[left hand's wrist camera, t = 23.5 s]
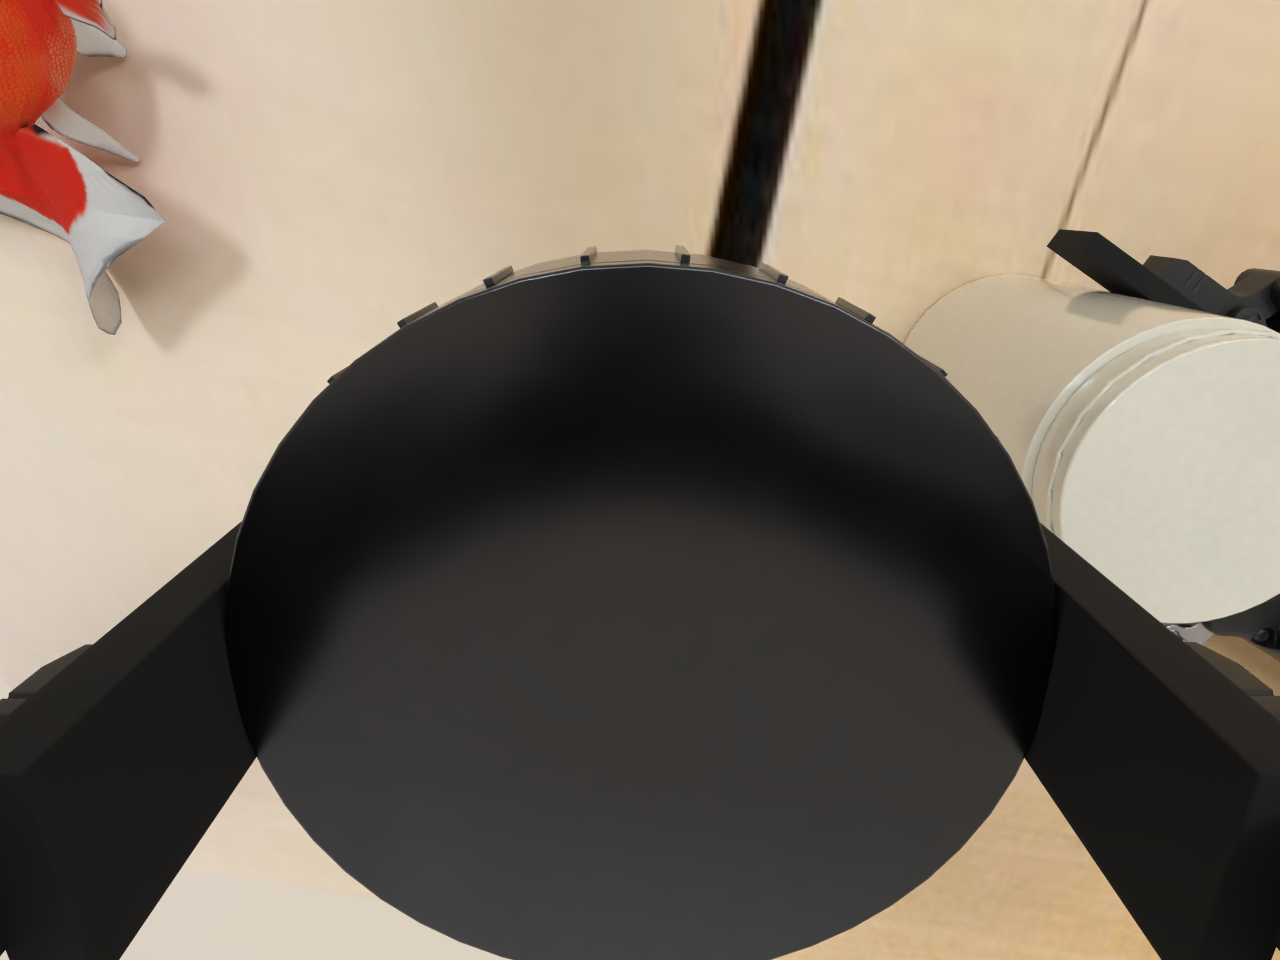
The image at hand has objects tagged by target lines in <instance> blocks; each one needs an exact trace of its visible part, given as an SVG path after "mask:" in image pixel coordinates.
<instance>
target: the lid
mask: <svg viewBox="0 0 1280 960" xmlns="http://www.w3.org/2000/svg"><path fill="white" fill-rule="evenodd" d="M483 282H484V284H482V285H480V286H478V287H476V288H474V289H472V290H470V291H468V292H466V293H464V294H462V295H460V296H458V297H456V298H454V299H452V300H450V301H448V302H446V303H444V304H442V305H441V306H439V307H438V305H437V304H436V302H434V303H432V304H430V305H428V306H426V307H424V308H422V309H421V310H419V311H417V312H415V313H413V314H411V315H409V316H408V317H406V318H404V319H402V320H401V321H399V322H398V323H397V324H398V325H399V327H400V328H401V329H399V330H398V331H396V332H395V333H394V334H392V335H391V336H389V337H388V338H386V339H385V340H384V341H382V342H381V343H379V344H378V345H376V346H375V347H374V348H372V349H371V350H369V351H368V352H366V353H365V354H364V355H362V356H361V357H359V358H358V359H356V360H355V361H354V362H353V363H352V364H351V365H350V366H348V367H346V368H345V369H343V370H341V371H340V372H338V373H336V374H335V375H333V376H332V377H331V378H330V379H329V380H328V381H327V382H328V383H329V384H330V385H328V386H327V387H326V388H325V389H324V390H323V391H322V392H321V393H320V394H319V395H318V396H317V397H316V398H315V399H314V400H313V401H312V402H311V403H310V405H309V406H308V407H307V408H306V410H305V411H304V412H303V414H302V415H301V416H300V418H299V419H298V420H297V421H296V423H295V424H294V425H293V427H292V428H291V429H290V430H289V432H288V433H287V434H286V436H285V437H284V438H283V439H282V441H281V442H280V443H279V445H278V447H277V448H276V450H275V452H274V454H273V456H272V458H271V459H270V461H269V463H268V465H267V467H266V468H265V470H264V472H263V474H262V476H261V477H260V479H259V481H258V483H257V485H256V487H255V488H254V490H253V493H252V496H251V498H250V501H249V504H248V507H247V509H246V512H245V515H244V518H243V521H242V523H241V526H240V529H239V532H238V534H237V537H236V542H235V547H234V552H233V558H232V563H231V568H230V573H229V579H228V584H227V599H226V632H225V636H226V644H227V652H228V660H229V667H230V672H231V677H232V682H233V687H234V691H235V695H236V699H237V704H238V708H239V712H240V715H241V719H242V722H243V726H244V728H245V730H246V733H247V735H248V737H249V740H250V742H251V744H252V746H253V749H254V751H255V753H256V755H257V758H258V760H259V762H260V764H261V767H262V769H263V770H264V772H265V773H266V775H267V777H268V778H269V780H270V782H271V783H272V785H273V787H274V788H275V790H276V791H277V793H278V795H279V796H280V798H281V800H282V801H283V803H284V804H285V806H286V807H287V808H288V810H289V811H290V812H291V813H292V815H293V816H294V817H295V818H296V820H297V821H298V822H299V823H300V825H301V826H302V827H303V828H304V830H305V831H306V832H307V833H308V835H309V836H310V837H311V838H312V840H313V841H314V842H315V843H316V844H317V845H318V846H319V847H320V848H321V849H322V850H323V851H325V852H326V853H327V854H328V855H329V856H330V857H331V858H332V859H333V860H334V861H335V862H336V863H337V864H338V865H339V866H340V867H341V868H342V869H343V870H344V871H345V872H346V873H348V874H349V875H350V876H351V877H353V878H354V879H355V880H357V881H358V882H359V883H360V884H362V885H363V886H364V887H366V888H367V889H368V890H370V891H371V892H372V893H373V894H375V895H376V896H377V897H379V898H380V899H381V900H383V901H385V902H386V903H388V904H389V905H391V906H393V907H394V908H396V909H398V910H399V911H401V912H403V913H404V914H406V915H408V916H409V917H411V918H412V919H414V920H416V921H417V922H419V923H421V924H423V925H425V926H427V927H429V928H431V929H434V930H436V931H438V932H440V933H442V934H444V935H446V936H448V937H450V938H452V939H455V940H457V941H459V942H461V943H464V944H467V945H470V946H472V947H475V948H478V949H481V950H484V951H487V952H489V953H492V954H495V955H498V956H500V957H504V958H508V959H512V960H772V959H775V958H778V957H781V956H784V955H787V954H790V953H793V952H796V951H799V950H802V949H805V948H808V947H811V946H813V945H816V944H818V943H820V942H822V941H824V940H827V939H829V938H831V937H833V936H836V935H838V934H840V933H842V932H845V931H847V930H849V929H851V928H854V927H855V926H857V925H859V924H860V923H862V922H864V921H866V920H867V919H869V918H871V917H873V916H874V915H876V914H878V913H880V912H881V911H883V910H885V909H886V908H888V907H890V906H892V905H893V904H894V903H896V902H897V901H899V900H900V899H901V898H903V897H904V896H905V895H907V894H908V893H910V892H911V891H912V890H914V889H915V888H916V887H918V886H919V885H920V884H922V883H923V882H925V881H926V880H927V879H929V878H930V877H931V876H932V875H933V874H934V873H935V872H936V871H937V870H938V869H939V868H941V867H942V866H943V865H944V864H945V863H946V862H947V861H948V860H949V859H950V858H951V857H952V856H954V855H955V854H956V853H957V852H958V851H959V850H960V849H961V848H962V847H963V846H964V845H965V843H966V842H967V841H968V840H969V839H970V838H971V836H972V835H973V834H974V833H975V832H976V831H977V829H978V828H979V827H980V826H981V825H982V824H983V822H984V821H985V820H986V819H987V818H988V816H989V815H990V814H991V813H992V811H993V810H994V808H995V806H996V805H997V803H998V802H999V800H1000V799H1001V797H1002V796H1003V794H1004V793H1005V791H1006V790H1007V788H1008V787H1009V785H1010V784H1011V782H1012V781H1013V779H1014V777H1015V776H1016V774H1017V772H1018V769H1019V767H1020V765H1021V763H1022V761H1023V759H1024V757H1025V755H1026V753H1027V751H1028V749H1029V746H1030V744H1031V742H1032V740H1033V738H1034V736H1035V733H1036V730H1037V727H1038V723H1039V720H1040V717H1041V713H1042V709H1043V705H1044V701H1045V697H1046V692H1047V688H1048V683H1049V678H1050V673H1051V668H1052V663H1053V658H1054V653H1055V647H1056V596H1055V589H1054V583H1053V576H1052V570H1051V563H1050V557H1049V550H1048V547H1047V543H1046V540H1045V537H1044V534H1043V531H1042V528H1041V525H1040V522H1039V518H1038V515H1037V512H1036V509H1035V506H1034V503H1033V500H1032V498H1031V496H1030V494H1029V492H1028V490H1027V488H1026V486H1025V484H1024V482H1023V480H1022V479H1021V477H1020V475H1019V473H1018V471H1017V469H1016V467H1015V465H1014V463H1013V461H1012V459H1011V457H1010V455H1009V453H1008V452H1007V451H1006V449H1005V448H1004V446H1003V445H1002V444H1001V442H1000V440H999V438H998V437H997V436H996V435H995V434H994V432H993V431H992V430H991V428H990V427H989V426H988V424H987V423H986V421H985V420H984V419H983V417H982V416H981V414H980V413H979V412H978V410H977V409H976V408H975V407H974V406H973V405H972V404H971V403H970V402H969V401H968V400H967V399H966V398H965V397H964V396H963V395H962V394H961V393H960V392H959V391H958V390H957V389H956V388H955V387H954V386H953V385H952V384H951V383H950V382H949V381H948V380H947V379H946V378H945V377H946V376H947V375H948V374H947V373H946V372H945V371H944V370H943V369H942V368H940V367H938V366H937V365H935V364H933V363H931V362H930V361H928V360H926V359H925V358H923V357H921V356H920V355H918V354H916V353H915V352H913V351H912V350H911V349H909V348H908V347H907V346H905V345H904V344H903V343H901V342H900V341H899V340H897V339H896V338H895V337H893V336H892V335H891V334H889V333H888V332H886V331H884V330H882V329H880V328H879V327H877V326H875V325H873V324H872V323H873V321H874V320H875V318H876V317H875V316H873V315H871V314H870V313H868V312H866V311H864V310H862V309H860V308H858V307H857V306H855V305H853V304H851V303H849V302H847V301H845V300H843V299H842V298H840V297H839V298H838V299H837V301H836V302H835V303H834V302H833V301H831V300H829V299H827V298H825V297H823V296H822V295H820V294H818V293H816V292H814V291H812V290H811V289H809V288H807V287H805V286H803V285H801V284H799V283H796V282H793V281H791V280H788V276H787V275H785V274H783V273H782V272H780V271H778V270H776V269H775V268H773V267H771V266H769V265H767V264H764V263H761V265H760V268H756V267H753V266H749V265H745V264H740V263H736V262H732V261H727V260H723V259H718V258H714V257H709V256H705V255H700V254H689V253H688V251H687V250H686V249H685V247H684V246H676V249H675V252H664V251H652V250H638V251H619V252H600V253H597V249H596V247H589V248H587V250H586V251H585V252H584V253H583V254H582V255H579V256H574V257H569V258H564V259H559V260H553V261H548V262H543V263H539V264H536V265H533V266H530V267H527V268H524V269H521V270H518V271H515V272H513V269H512V266H508V267H506V268H503V269H502V270H500V271H498V272H496V273H494V274H493V275H491V276H489V277H487V278H485V279H484V280H483Z"/></svg>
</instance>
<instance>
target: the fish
mask: <svg viewBox="0 0 1280 960" xmlns="http://www.w3.org/2000/svg"><path fill="white" fill-rule="evenodd" d="M77 51H78V52H79V53H81V54H82V55H85V56H111V57H119V58H124V57H125V56H126V50H125V48H124V47H123V45H122V44H121V43H120V42H119V41H118V40H117V39H116V33H115V27H114V25H113V23H112V22H111V20H110V18H109V17H108V15H107V13H106V11H105V9H104V7H103V2H102V0H0V214H3V215H6V216H9V217H11V218H14V219H16V220H19V221H21V222H24V223H26V224H29V225H31V226H34V227H36V228H39V229H41V230H44V231H47V232H49V233H52V234H54V235H56V236H58V237H60V238H62V239H63V240H65V241H67V242H69V243H70V245H71V247H72V249H73V252H74V254H75V257H76V259H77V262H78V265H79V268H80V271H81V274H82V277H83V280H84V284H85V290H86V296H87V299H88V302H89V305H90V308H91V311H92V315H93V317H94V319H95V322H96V324H97V326H98V328H99V329H101V330H102V331H104V332H106V333H108V334H113V335H115V333H116V332H117V330H118V328H119V326H120V324H121V322H122V321H121V307H120V300H119V294H118V291H117V290H116V288H115V286H114V285H113V283H112V281H111V280H110V278H109V276H108V275H107V273H106V272H105V270H106V269H107V268H108V267H109V266H110V265H111V264H112V262H113V261H114V260H115V259H116V258H117V257H118V256H120V255H121V254H122V253H124V252H125V251H127V250H128V249H129V248H131V247H132V246H134V245H135V244H137V243H138V242H139V241H141V240H142V239H143V238H145V237H146V236H147V235H149V234H150V233H151V232H152V231H154V230H155V229H156V228H158V227H159V226H160V225H161V224H163V223H164V222H165V220H164V219H163V218H162V217H161V215H160V214H159V213H158V212H157V211H156V210H155V208H154V207H153V206H152V205H151V204H150V203H149V202H148V200H147V199H146V198H145V197H144V196H142V195H141V194H139V193H138V192H136V191H135V190H133V189H131V188H130V187H128V186H127V185H125V184H124V183H122V182H121V181H119V180H118V179H116V178H115V177H113V176H112V175H110V174H109V173H107V172H106V171H104V170H103V169H102V168H100V167H99V166H98V165H96V164H95V163H93V162H92V161H91V160H89V159H88V158H87V157H85V156H84V155H82V154H81V153H79V152H78V151H76V150H75V149H73V148H72V147H70V146H69V145H67V144H65V143H64V142H62V141H61V140H59V139H58V138H56V137H54V136H53V135H51V134H50V133H48V132H46V131H45V130H43V129H42V128H40V127H39V126H37V125H35V122H36V120H37V119H38V118H39V117H40V116H41V117H42V118H43V120H44V121H45V122H46V123H47V124H48V126H49V127H50V128H51V129H53V130H54V131H56V132H57V133H59V134H60V135H62V136H64V137H67V138H69V139H72V140H74V141H77V142H80V143H83V144H87V145H90V146H93V147H96V148H99V149H102V150H105V151H108V152H110V153H113V154H116V155H118V156H121V157H123V158H126V159H129V160H131V161H134V162H138V161H139V159H138V158H137V157H136V156H135V155H133V154H132V153H131V152H130V151H128V150H127V149H126V148H124V147H123V146H122V145H121V144H120V143H118V142H117V141H116V140H115V139H113V138H112V137H111V136H110V135H108V134H107V133H106V132H104V131H103V130H101V129H100V128H98V127H97V126H95V125H94V124H92V123H91V122H89V121H87V120H86V119H84V118H83V117H81V116H80V115H78V114H77V113H75V112H74V111H72V110H71V109H70V108H69V107H68V106H67V105H66V104H64V102H63V101H62V100H61V99H60V96H61V95H62V93H63V92H64V91H65V89H66V88H67V86H68V84H69V82H70V80H71V77H72V74H73V71H74V67H75V63H76V57H77Z"/></svg>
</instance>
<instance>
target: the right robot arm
mask: <svg viewBox="0 0 1280 960" xmlns="http://www.w3.org/2000/svg"><path fill="white" fill-rule="evenodd" d="M1047 247H1048V248H1050V249H1051V250H1053V251H1054V252H1055V253H1057V254H1058V255H1060V256H1061V257H1062V258H1064V259H1065V260H1066V261H1068V262H1069V263H1071V264H1072V265H1073V266H1075V267H1076V268H1078V269H1079V270H1080V271H1082V272H1083V273H1085V274H1086V275H1087V276H1089V277H1090V278H1092V279H1093V280H1094V281H1096V282H1097V283H1099V284H1100V285H1101V286H1103V287H1104V288H1106V289H1107V290H1108V291H1110V292H1112V293H1116V294H1121V295H1126V296H1131V297H1136V298H1141V299H1145V300H1150V301H1155V302H1160V303H1165V304H1170V305H1174V306H1179V307H1184V308H1189V309H1194V310H1199V311H1203V312H1208V313H1213V314H1218V315H1223V316H1228V317H1232V318H1237V319H1242V320H1246V321H1250V322H1253V323H1256V324H1260V325H1263V326H1265V327H1267V328H1270V329H1272V330H1274V331H1276V332H1278V333H1280V271H1272V270H1264V269H1255V268H1253V269H1248V270H1246V271H1244V272H1242V273H1241V274H1240V275H1239V276H1238V277H1237V279H1236V281H1235V283H1234V286H1232V287H1231V288H1229V289H1227V290H1226V289H1225V288H1224V287H1222V286H1221V285H1220V284H1218V283H1217V282H1216V281H1214V280H1213V279H1212V278H1210V277H1209V276H1207V275H1205V273H1203V272H1202V271H1201V270H1199V269H1198V268H1197V267H1195V266H1194V265H1193V264H1191V263H1190V262H1189V261H1187V260H1181V259H1176V258H1168V257H1160V256H1151V255H1150V257H1149V258H1148V259H1147V260H1146V262H1145V263H1144V264H1143V265H1142V264H1140V263H1139V262H1137V261H1136V260H1135V259H1133V258H1132V257H1131V256H1129V255H1128V254H1126V253H1125V252H1124V251H1122V250H1121V249H1120V248H1118V247H1117V246H1116V245H1114V244H1113V243H1111V242H1110V241H1109V240H1107V239H1106V238H1105V237H1103V236H1102V235H1100V234H1099V233H1098V232H1086V231H1074V230H1061V229H1059V231H1058V232H1057V233H1056V235H1055V236H1054V237H1053V239H1052V240H1051V241H1050V243H1049V244H1048V245H1047ZM1162 624H1163V625H1164V626H1166V627H1167V628H1168V629H1169V630H1170V631H1172V632H1173V633H1174V634H1175V635H1177V636H1178V637H1179V638H1180V639H1181V640H1183V641H1184V642H1197V643H1199V644H1201V645H1203V644H1204V643H1205V642H1206V641H1207V640H1208V639H1209V638H1211V637H1212V636H1213V635H1214V634H1217V635H1220V636H1235V637H1240V638H1243V639H1245V640H1246V641H1248V642H1250V643H1251V644H1253V645H1254V646H1256V647H1258V648H1259V649H1261V650H1262V651H1264V652H1265V653H1267V654H1269V655H1270V656H1272V657H1273V658H1275V659H1277V660H1278V661H1280V594H1278V595H1276V596H1274V597H1273V598H1271V599H1269V600H1267V601H1265V602H1264V603H1261V604H1259V605H1257V606H1255V607H1252V608H1250V609H1248V610H1245V611H1243V612H1240V613H1236V614H1233V615H1230V616H1227V617H1224V618H1219V619H1214V620H1210V621H1205V622H1195V623H1162Z"/></svg>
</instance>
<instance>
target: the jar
mask: <svg viewBox="0 0 1280 960" xmlns="http://www.w3.org/2000/svg"><path fill="white" fill-rule="evenodd" d="M904 345H905V346H907V347H908V348H909V349H911V350H912V351H913V352H915V353H916V354H918V355H920V356H921V357H923V358H925V359H926V360H928V361H930V362H931V363H933V364H935V365H937V366H938V367H940V368H942V369H943V370H944V371H945V372H946V373H947V374H948V375H947V376H946V377H945V378H946V379H947V380H948V381H949V382H950V383H951V384H952V385H953V386H954V387H955V388H956V389H957V390H958V391H959V392H960V393H961V394H962V395H963V396H964V397H965V398H966V399H967V400H968V401H969V402H970V403H971V404H972V405H973V406H974V407H975V408H976V409H977V410H978V412H979V413H980V414H981V416H982V417H983V419H984V420H985V421H986V423H987V424H988V426H989V427H990V428H991V430H992V431H993V432H994V434H995V435H996V436H997V437H998V438H999V440H1000V442H1001V444H1002V445H1003V446H1004V448H1005V449H1006V451H1007V452H1008V453H1009V455H1010V457H1011V459H1012V461H1013V463H1014V465H1015V467H1016V469H1017V471H1018V473H1019V475H1020V477H1021V479H1022V480H1023V482H1024V484H1025V486H1026V488H1027V490H1028V492H1029V494H1030V496H1031V498H1032V500H1033V503H1034V506H1035V509H1036V512H1037V515H1038V518H1039V522H1040V523H1041V524H1043V525H1044V526H1045V527H1046V528H1047V529H1049V530H1050V531H1051V532H1052V533H1053V534H1055V535H1056V536H1057V537H1058V538H1059V539H1061V540H1062V541H1063V542H1064V543H1065V544H1067V545H1068V546H1069V547H1070V548H1072V549H1073V550H1074V551H1075V552H1076V553H1078V554H1079V555H1080V556H1081V557H1082V558H1084V559H1085V560H1086V561H1087V562H1088V563H1090V564H1091V565H1092V566H1093V567H1094V568H1096V569H1097V570H1098V571H1099V572H1100V573H1102V574H1103V575H1104V576H1105V577H1107V578H1108V579H1109V580H1110V581H1111V582H1113V583H1114V584H1115V585H1116V586H1117V587H1119V588H1120V589H1121V590H1122V591H1123V592H1125V593H1126V594H1127V595H1128V596H1129V597H1131V598H1132V599H1133V600H1134V601H1135V602H1137V603H1138V604H1139V605H1140V606H1142V607H1143V608H1144V609H1145V610H1146V611H1148V612H1149V613H1150V614H1151V615H1152V616H1154V617H1155V618H1156V619H1157V620H1158V621H1160V622H1161V623H1195V622H1205V621H1210V620H1214V619H1219V618H1224V617H1227V616H1230V615H1233V614H1236V613H1240V612H1243V611H1245V610H1248V609H1250V608H1252V607H1255V606H1257V605H1259V604H1261V603H1264V602H1265V601H1267V600H1269V599H1271V598H1273V597H1274V596H1276V595H1278V594H1280V333H1278V332H1276V331H1274V330H1272V329H1270V328H1267V327H1265V326H1263V325H1260V324H1256V323H1253V322H1250V321H1246V320H1242V319H1237V318H1232V317H1228V316H1223V315H1218V314H1213V313H1208V312H1203V311H1199V310H1194V309H1189V308H1184V307H1179V306H1174V305H1170V304H1165V303H1160V302H1155V301H1150V300H1145V299H1141V298H1136V297H1131V296H1126V295H1121V294H1116V293H1112V292H1107V291H1102V290H1097V289H1092V288H1087V287H1083V286H1078V285H1073V284H1068V283H1063V282H1058V281H1054V280H1049V279H1044V278H1039V277H1034V276H1028V275H1021V274H1001V275H993V276H988V277H984V278H981V279H977V280H974V281H972V282H969V283H967V284H964V285H962V286H960V287H959V288H957V289H955V290H953V291H951V292H950V293H948V294H947V295H945V296H944V297H942V298H941V299H940V300H938V301H937V302H936V303H935V304H934V305H933V306H932V307H930V308H929V309H928V310H927V311H926V312H925V314H924V315H923V316H922V317H921V318H920V319H919V320H918V322H917V323H916V325H915V326H914V327H913V329H912V330H911V332H910V333H909V335H908V337H907V339H906V341H905V343H904Z"/></svg>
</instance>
